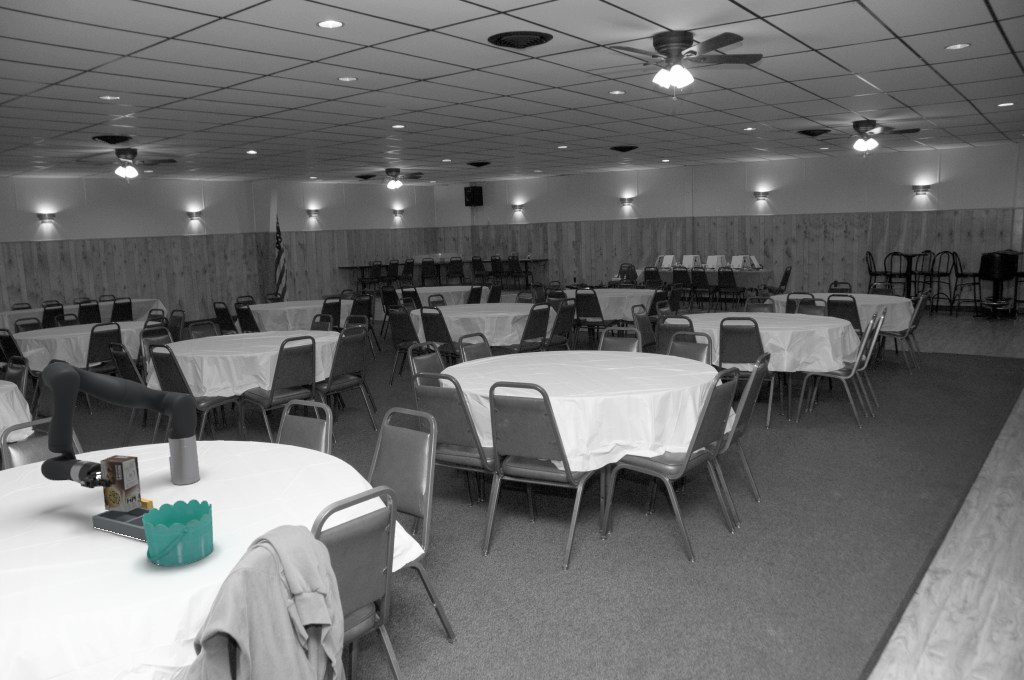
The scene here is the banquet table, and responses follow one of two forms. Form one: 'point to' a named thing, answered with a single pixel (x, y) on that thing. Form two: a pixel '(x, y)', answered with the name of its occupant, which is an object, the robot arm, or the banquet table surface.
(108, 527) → the grey divided tray
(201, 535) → the basket
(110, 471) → the coffee box
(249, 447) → the banquet table surface
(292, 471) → the banquet table surface
